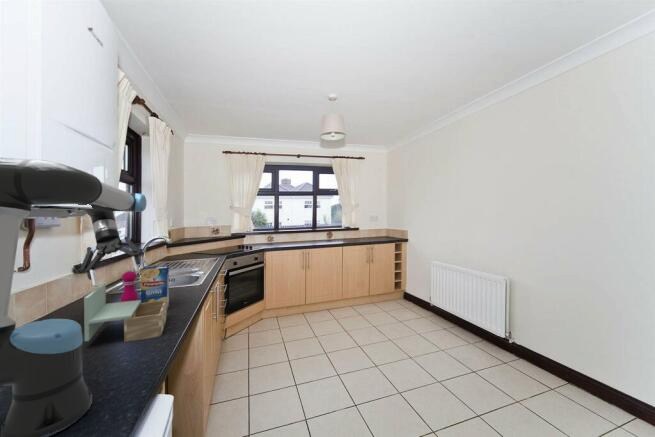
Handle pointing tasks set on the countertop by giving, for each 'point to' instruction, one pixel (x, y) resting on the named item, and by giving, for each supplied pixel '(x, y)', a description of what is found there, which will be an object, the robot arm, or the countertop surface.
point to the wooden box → (146, 321)
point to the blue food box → (155, 284)
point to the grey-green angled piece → (104, 310)
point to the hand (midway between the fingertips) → (117, 278)
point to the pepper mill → (129, 287)
